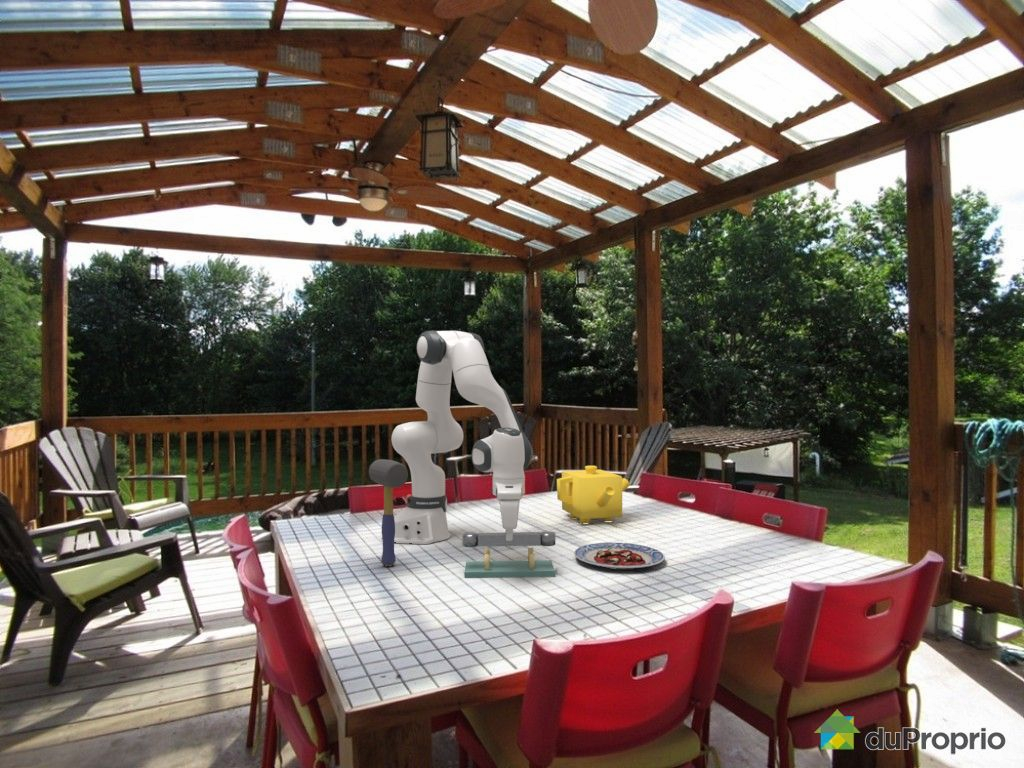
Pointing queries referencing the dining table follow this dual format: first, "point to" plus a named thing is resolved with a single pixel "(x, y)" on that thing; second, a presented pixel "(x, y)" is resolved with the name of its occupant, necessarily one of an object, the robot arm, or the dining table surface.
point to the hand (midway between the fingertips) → (508, 538)
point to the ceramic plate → (619, 555)
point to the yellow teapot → (591, 494)
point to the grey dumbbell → (500, 540)
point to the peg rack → (509, 567)
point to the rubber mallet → (388, 501)
